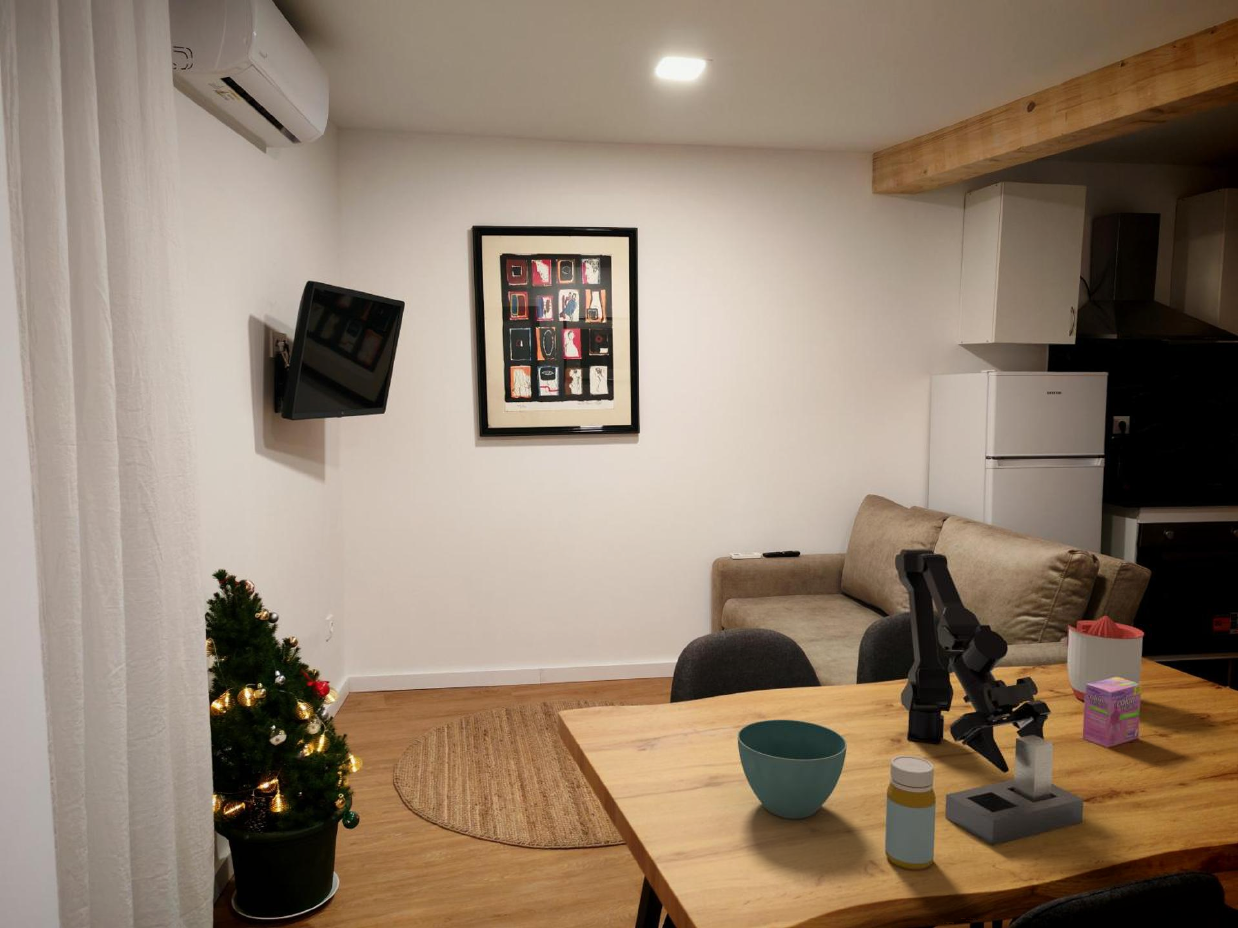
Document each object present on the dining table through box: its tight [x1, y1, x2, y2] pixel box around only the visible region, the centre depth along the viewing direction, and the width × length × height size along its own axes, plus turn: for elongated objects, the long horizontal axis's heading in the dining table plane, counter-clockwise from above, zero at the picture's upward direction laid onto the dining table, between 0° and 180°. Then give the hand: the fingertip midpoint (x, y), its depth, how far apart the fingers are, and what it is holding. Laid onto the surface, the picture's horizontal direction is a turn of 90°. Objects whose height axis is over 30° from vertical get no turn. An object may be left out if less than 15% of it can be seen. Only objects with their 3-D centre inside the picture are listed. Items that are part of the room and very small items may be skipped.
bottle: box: [884, 755, 937, 871], centre depth 132 cm, size 7×7×15 cm
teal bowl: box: [737, 719, 848, 820], centre depth 149 cm, size 18×18×12 cm
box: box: [1082, 677, 1143, 749], centre depth 180 cm, size 10×6×12 cm, turn 117°
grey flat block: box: [944, 778, 1084, 847], centre depth 145 cm, size 20×10×4 cm, turn 113°
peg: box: [1013, 735, 1054, 803], centre depth 147 cm, size 4×4×13 cm
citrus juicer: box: [1059, 615, 1145, 702], centre depth 205 cm, size 16×17×20 cm
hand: (1026, 767), depth 148 cm, fingers open, 9 cm apart
